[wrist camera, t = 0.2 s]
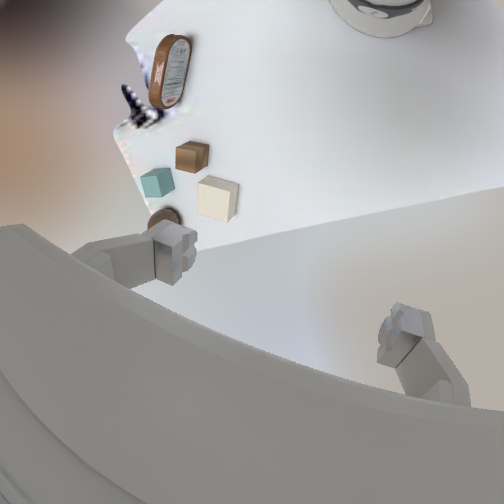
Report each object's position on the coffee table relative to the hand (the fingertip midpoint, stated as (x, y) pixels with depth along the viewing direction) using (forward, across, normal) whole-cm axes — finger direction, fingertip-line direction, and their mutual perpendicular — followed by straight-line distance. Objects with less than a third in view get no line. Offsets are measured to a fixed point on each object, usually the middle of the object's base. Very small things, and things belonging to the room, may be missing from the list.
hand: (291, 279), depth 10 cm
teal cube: (+41, +36, +16) cm, 57 cm away
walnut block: (+40, +27, +8) cm, 49 cm away
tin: (+38, +32, -9) cm, 51 cm away
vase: (+42, +34, +26) cm, 60 cm away
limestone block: (+41, +21, +16) cm, 49 cm away
